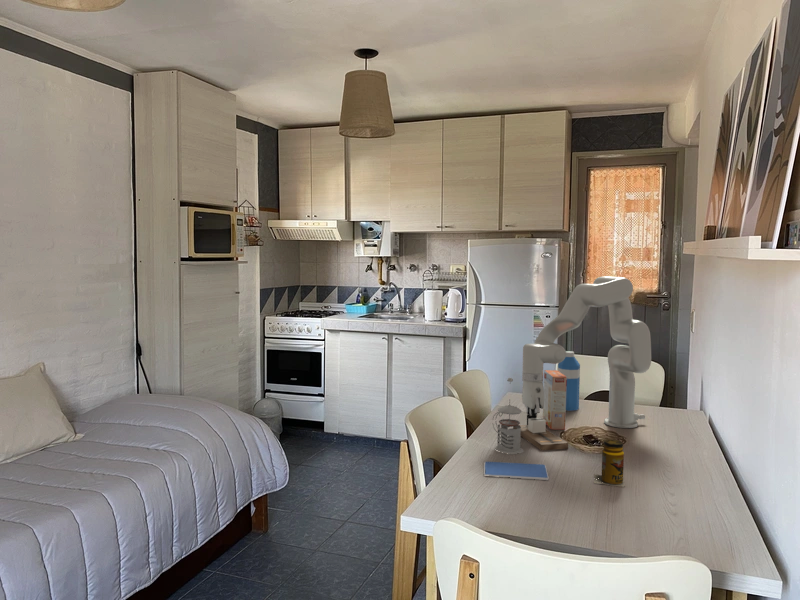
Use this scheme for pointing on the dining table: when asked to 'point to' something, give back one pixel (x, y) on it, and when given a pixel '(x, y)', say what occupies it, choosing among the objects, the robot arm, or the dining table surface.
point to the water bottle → (571, 380)
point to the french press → (509, 430)
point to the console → (543, 439)
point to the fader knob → (536, 425)
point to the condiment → (612, 464)
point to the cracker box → (554, 399)
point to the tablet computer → (516, 470)
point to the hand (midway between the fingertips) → (531, 425)
